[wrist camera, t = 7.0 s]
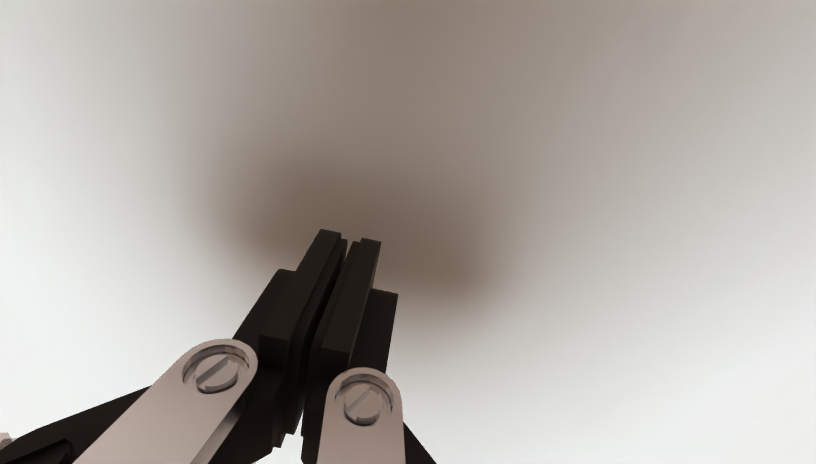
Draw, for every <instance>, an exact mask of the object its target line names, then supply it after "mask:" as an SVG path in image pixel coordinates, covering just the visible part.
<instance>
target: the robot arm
mask: <svg viewBox="0 0 816 464" xmlns="http://www.w3.org/2000/svg"><path fill="white" fill-rule="evenodd" d="M347 242H348V241H347V240H346V239H341V233H338V232H334V231H329V230H325V229H321V230H320V231H319V233H318V234H317V236H316V238H315V239H314V241H313V243H312V244H311V246H310V248H309V249H308V251H307V253H306V255H305V256H304V258H303V260H302V261H301V263H300V265H299V266H298V268H297V270H296V271H290V270H286V269H279V270H278V271H277V272H276V273H275V275H274V276H273V278H272V279H271V281H270V282H269V284H268V285H267V287H266V288H265V290H264V291H263V293H262V294H261V296H260V297H259V299H258V300H257V302H256V303H255V305H254V306H253V308H252V309H251V311H250V312H249V314H248V315H247V317H246V318H245V320H244V321H243V323H242V324H241V326H240V327H239V329H238V330H237V332H236V333H235V335H234V336H233V338H232V339H215V340H211V341H207V342H204V343H202V344H199V345H197V346H195V347H193V348H191V349H190V350H189V351H188V352H186V353H185V354H184V355H182V356H181V357H180V358H179V359H178V360H177V361H176V362H175V363H174V364H173V365H172V366H171V367H170V368H169V369H168V370H167V371H166V372H165V373H164V374H163V375H162V376H161V377H160V378H159V379H158V380H157V381H156V382H155V383H154V384H153V385H151V386H149V387H146V388H143V389H141V390H138V391H135V392H133V393H130V394H127V395H125V396H122V397H120V398H117V399H114V400H112V401H109V402H106V403H104V404H101V405H99V406H96V407H93V408H91V409H88V410H85V411H83V412H80V413H77V414H75V415H72V416H70V417H67V418H64V419H62V420H59V421H56V422H54V423H51V424H49V425H46V426H43V427H41V428H38V429H36V430H34V431H32V432H30V433H27V434H25V435H23V436H21V437H19V438H10V436H9V434H8V433H0V464H255V463H256V461H258V460H259V459H261V458H263V457H265V456H266V455H268V454H270V453H271V452H272V449H273V447H278V448H281V445H282V443H283V440H284V437H285V435H286V433H287V434H292V435H294V433H295V431H296V429H297V426H298V423H299V420H300V418H301V415H302V412H303V419H302V428H301V436H302V437H303V445H302V454H301V460H302V462H303V464H436V462H435V461H434V460H433V459H432V457H431V456H430V455H429V453H428V452H427V451H426V450H425V448H424V447H423V446H422V445H421V443H420V442H419V441H418V440H417V438H416V437H415V436H414V434H413V433H412V432H411V431H410V429H409V428H408V427H407V426H406V424H405V423H404V422H403V413H402V400H401V396H400V391H399V389H398V388H397V386H396V384H395V383H394V381H393V380H391V379H390V378H389V377H388V376H387V375H386V374H385V373H386V367H387V361H388V354H389V348H390V342H391V336H392V330H393V323H394V317H395V311H396V305H397V298H398V294H396V293H391V292H387V291H382V290H377V289H373V288H372V286H373V281H374V276H375V271H376V266H377V261H378V256H379V252H380V247H381V242H379V241H374V240H370V239H365V238H362V239H361V241H360V243H359V242H355V241H353V243H352V245H351V248H350V250H349V252H348V255H347V257H346V260H345V256H346V250H347ZM303 409H304V410H303Z"/></svg>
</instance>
